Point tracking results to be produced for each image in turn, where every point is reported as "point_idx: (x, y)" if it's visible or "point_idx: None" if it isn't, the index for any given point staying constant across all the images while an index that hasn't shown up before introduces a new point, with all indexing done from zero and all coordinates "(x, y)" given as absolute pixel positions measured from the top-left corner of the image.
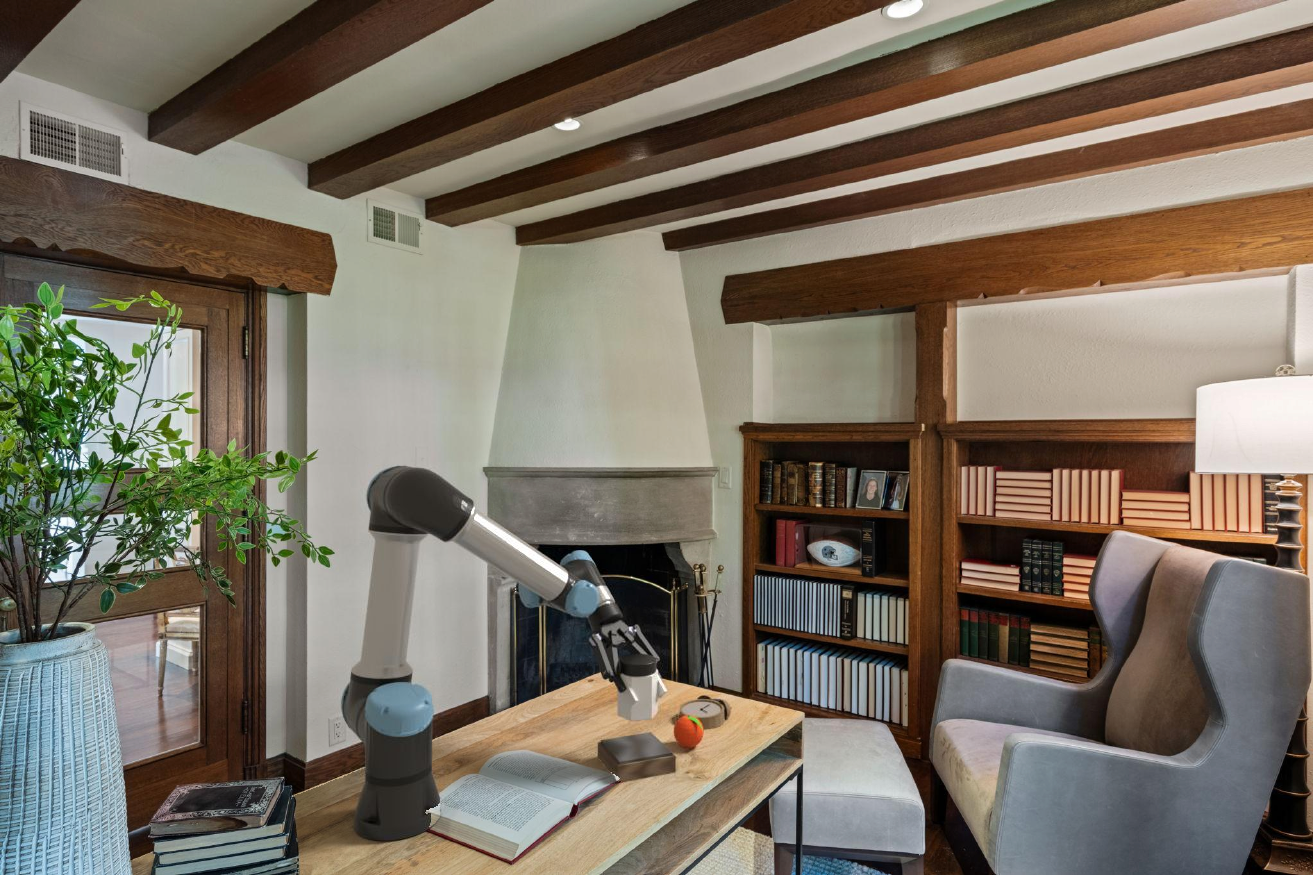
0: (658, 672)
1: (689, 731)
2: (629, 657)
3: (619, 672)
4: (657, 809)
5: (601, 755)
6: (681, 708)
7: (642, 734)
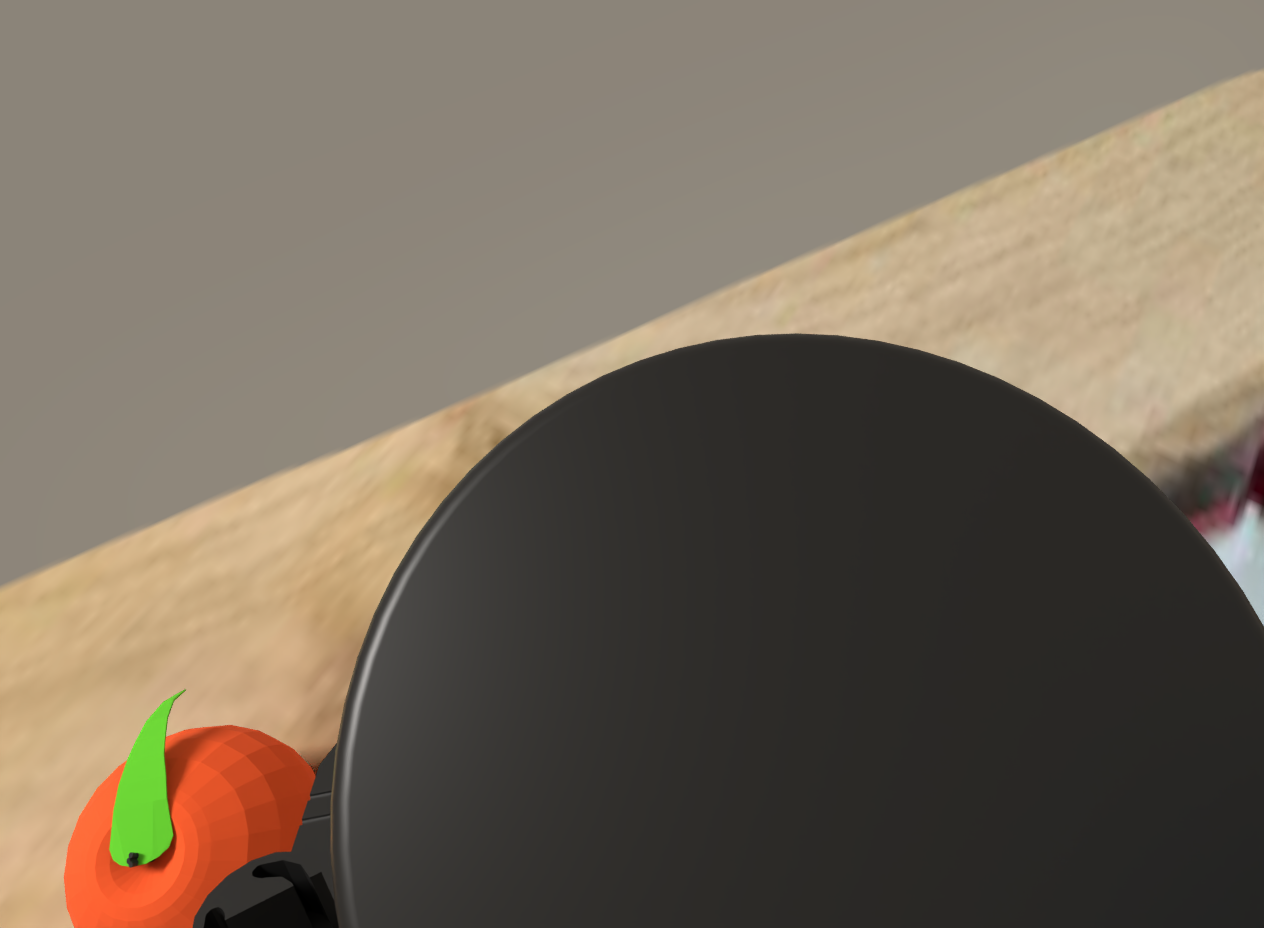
0: (311, 819)
1: (256, 750)
2: None
3: None
4: (873, 275)
5: None
6: None
7: None
